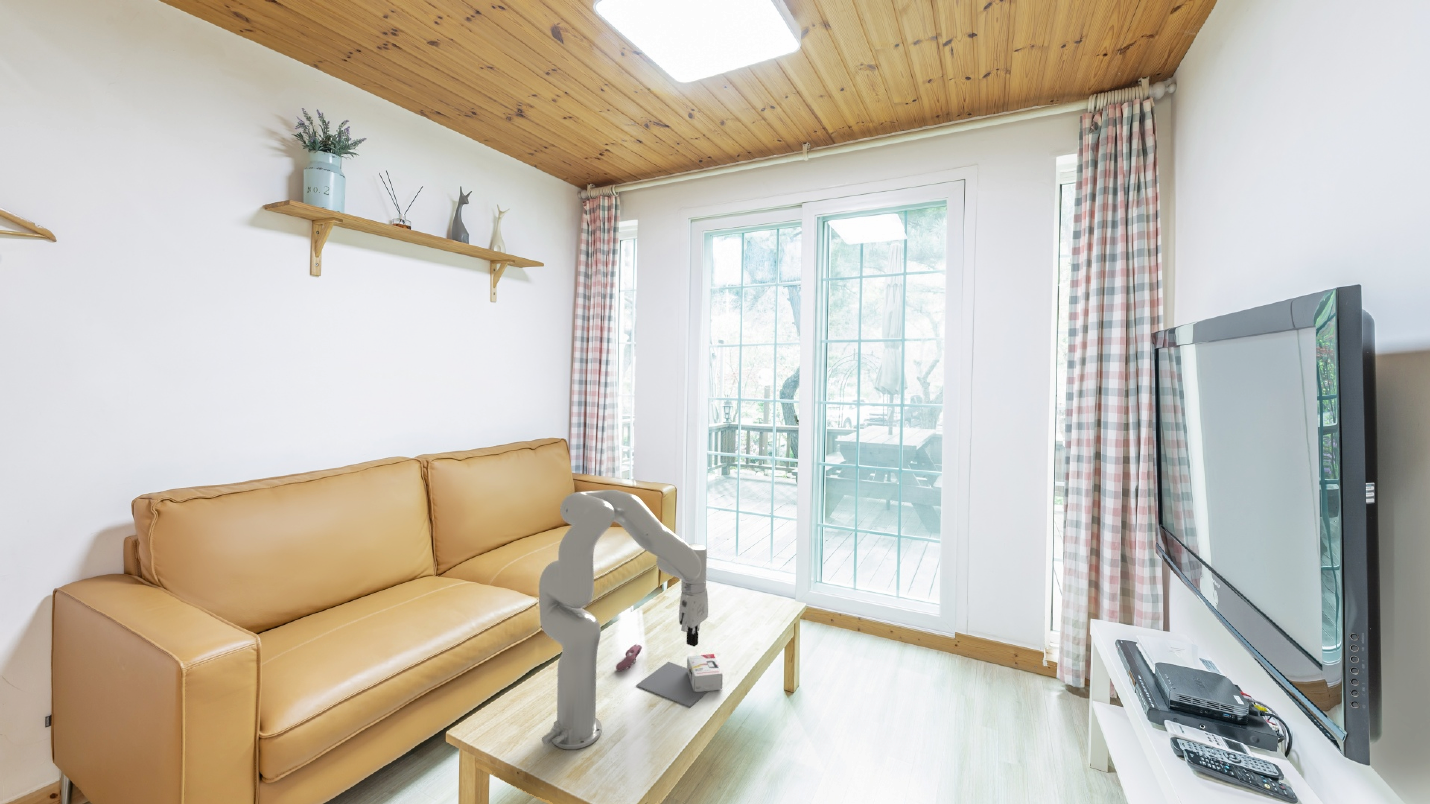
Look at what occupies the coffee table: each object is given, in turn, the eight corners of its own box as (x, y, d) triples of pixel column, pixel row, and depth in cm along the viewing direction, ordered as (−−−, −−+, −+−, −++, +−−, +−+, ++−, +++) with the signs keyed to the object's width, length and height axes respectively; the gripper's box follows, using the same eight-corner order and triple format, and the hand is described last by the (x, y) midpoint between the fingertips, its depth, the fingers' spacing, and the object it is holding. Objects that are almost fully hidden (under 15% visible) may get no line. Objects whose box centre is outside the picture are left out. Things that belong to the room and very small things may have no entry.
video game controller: (626, 678, 169) (636, 659, 168) (613, 669, 170) (623, 651, 169) (637, 661, 179) (646, 644, 178) (625, 654, 180) (634, 636, 179)
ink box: (714, 653, 172) (723, 672, 161) (713, 669, 172) (723, 689, 161) (686, 655, 170) (694, 675, 158) (686, 672, 170) (693, 692, 159)
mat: (690, 708, 152) (690, 706, 152) (636, 686, 162) (636, 685, 162) (719, 681, 166) (719, 680, 166) (668, 662, 176) (668, 661, 176)
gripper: (690, 596, 160) (688, 658, 161) (716, 580, 173) (715, 638, 174) (669, 590, 164) (667, 651, 165) (696, 575, 177) (695, 632, 178)
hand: (692, 644), depth 169 cm, fingers closed
